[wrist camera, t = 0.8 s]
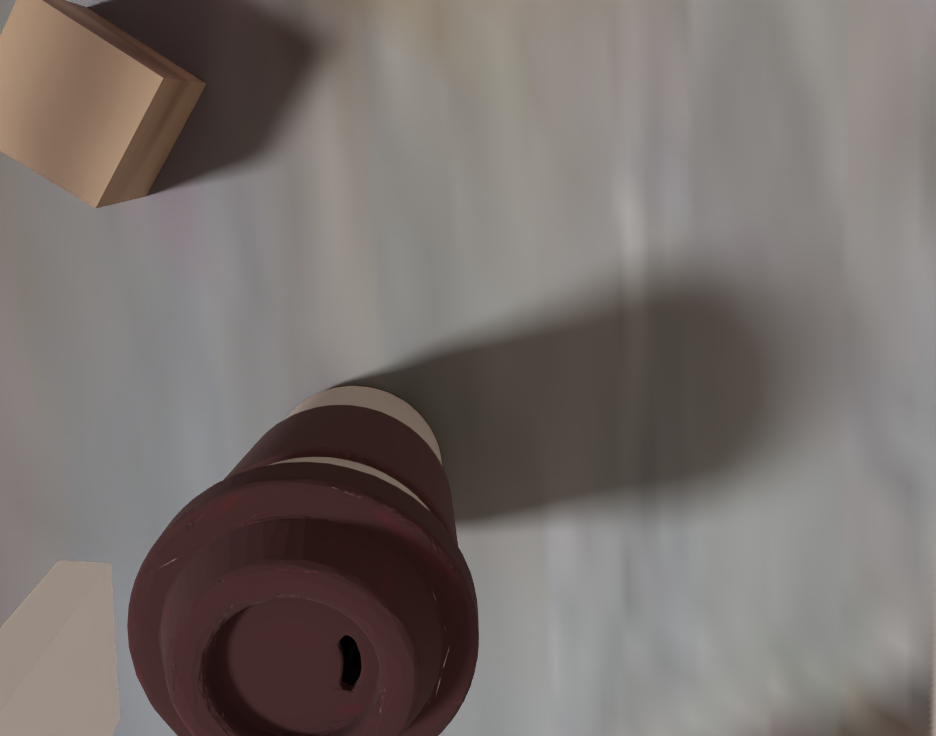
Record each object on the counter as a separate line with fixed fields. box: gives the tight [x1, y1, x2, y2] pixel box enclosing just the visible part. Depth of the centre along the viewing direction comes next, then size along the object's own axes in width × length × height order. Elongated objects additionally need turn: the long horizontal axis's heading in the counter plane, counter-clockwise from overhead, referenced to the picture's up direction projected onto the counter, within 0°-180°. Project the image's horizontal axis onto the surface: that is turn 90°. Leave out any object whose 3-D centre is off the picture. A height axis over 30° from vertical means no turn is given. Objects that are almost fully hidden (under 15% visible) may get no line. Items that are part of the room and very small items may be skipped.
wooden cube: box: [0, 0, 206, 208], centre depth 31 cm, size 5×5×5 cm
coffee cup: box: [127, 386, 479, 736], centre depth 30 cm, size 10×10×15 cm
